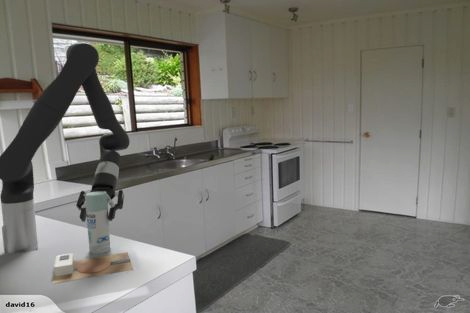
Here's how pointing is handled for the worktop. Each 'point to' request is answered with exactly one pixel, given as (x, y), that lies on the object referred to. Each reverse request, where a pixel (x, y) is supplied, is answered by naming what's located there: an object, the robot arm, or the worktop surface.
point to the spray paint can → (97, 222)
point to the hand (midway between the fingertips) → (96, 220)
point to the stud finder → (64, 264)
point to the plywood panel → (97, 267)
